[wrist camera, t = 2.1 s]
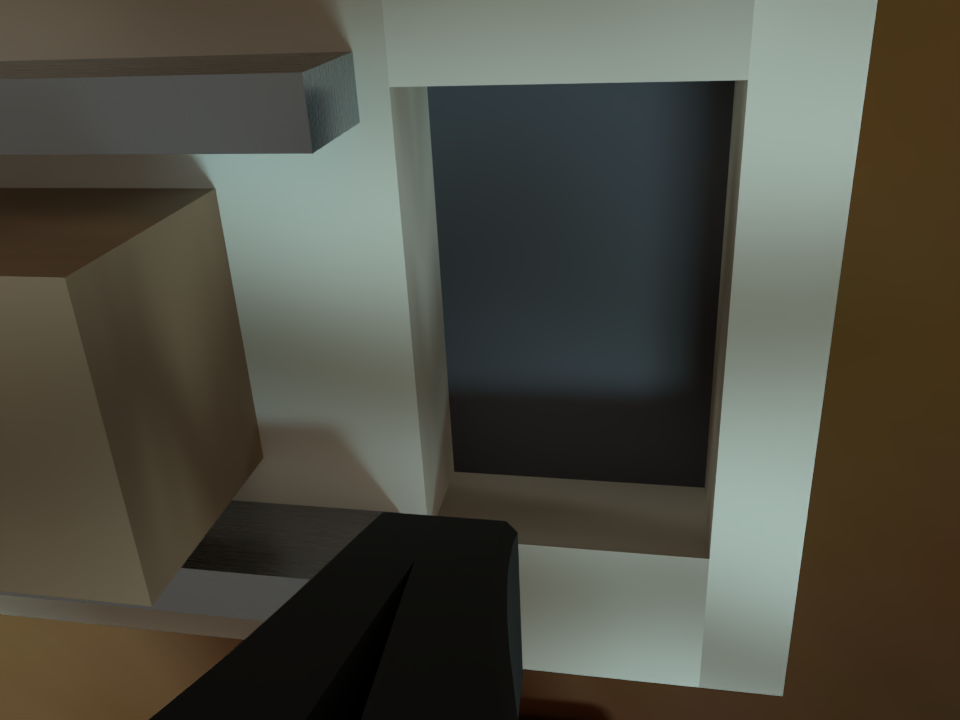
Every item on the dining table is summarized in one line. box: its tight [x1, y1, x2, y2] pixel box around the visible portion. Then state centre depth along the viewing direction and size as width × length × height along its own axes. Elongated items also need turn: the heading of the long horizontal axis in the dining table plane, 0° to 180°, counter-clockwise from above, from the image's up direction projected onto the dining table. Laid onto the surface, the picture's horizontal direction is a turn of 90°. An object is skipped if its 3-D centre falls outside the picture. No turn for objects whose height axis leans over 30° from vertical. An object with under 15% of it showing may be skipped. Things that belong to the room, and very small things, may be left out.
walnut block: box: [0, 188, 264, 606], centre depth 14 cm, size 5×5×4 cm
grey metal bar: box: [0, 52, 398, 621], centre depth 15 cm, size 9×10×2 cm
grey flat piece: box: [0, 0, 878, 696], centre depth 17 cm, size 14×28×2 cm, turn 93°
